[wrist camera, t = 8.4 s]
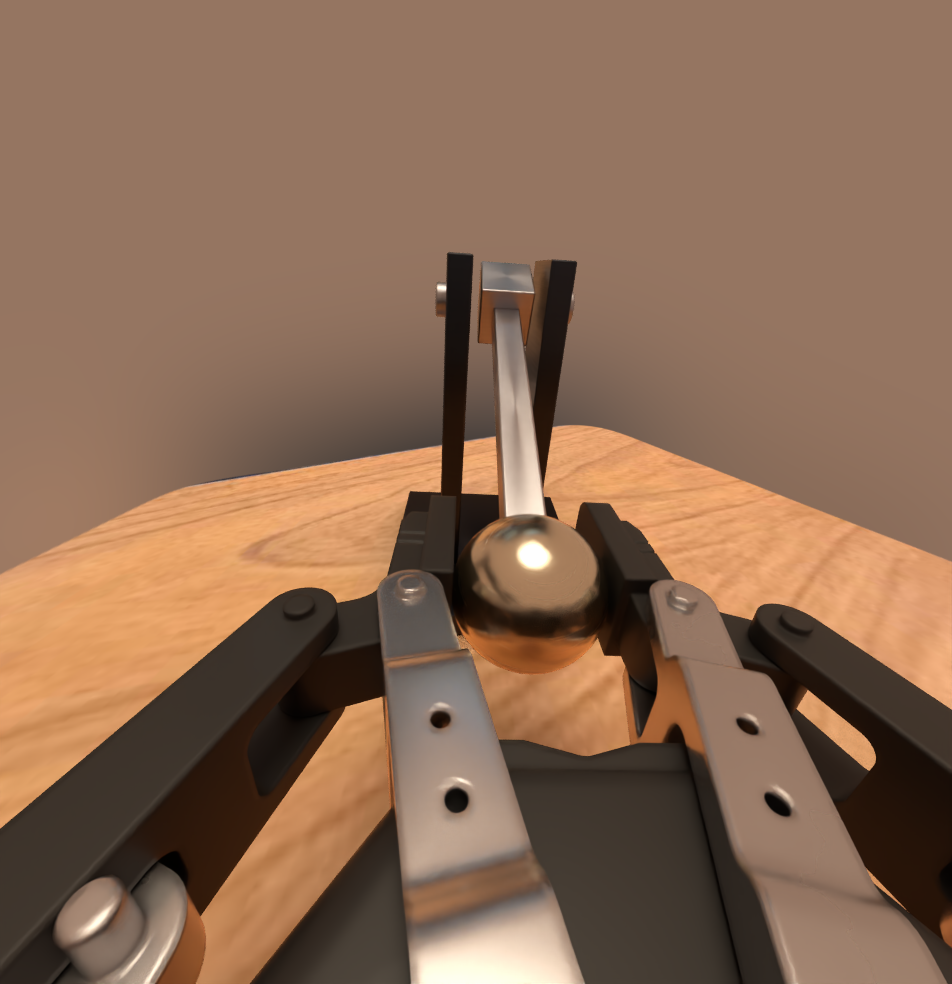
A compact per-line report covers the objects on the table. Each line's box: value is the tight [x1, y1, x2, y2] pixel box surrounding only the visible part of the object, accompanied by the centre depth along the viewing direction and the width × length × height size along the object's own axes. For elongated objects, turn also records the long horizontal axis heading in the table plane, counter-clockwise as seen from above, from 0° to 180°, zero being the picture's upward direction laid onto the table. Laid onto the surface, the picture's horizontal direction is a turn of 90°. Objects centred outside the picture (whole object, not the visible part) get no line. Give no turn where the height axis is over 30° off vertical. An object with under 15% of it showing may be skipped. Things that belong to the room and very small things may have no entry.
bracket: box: [403, 252, 577, 634], centre depth 22 cm, size 12×10×16 cm
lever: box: [452, 262, 609, 675], centre depth 14 cm, size 17×4×4 cm, turn 1°
